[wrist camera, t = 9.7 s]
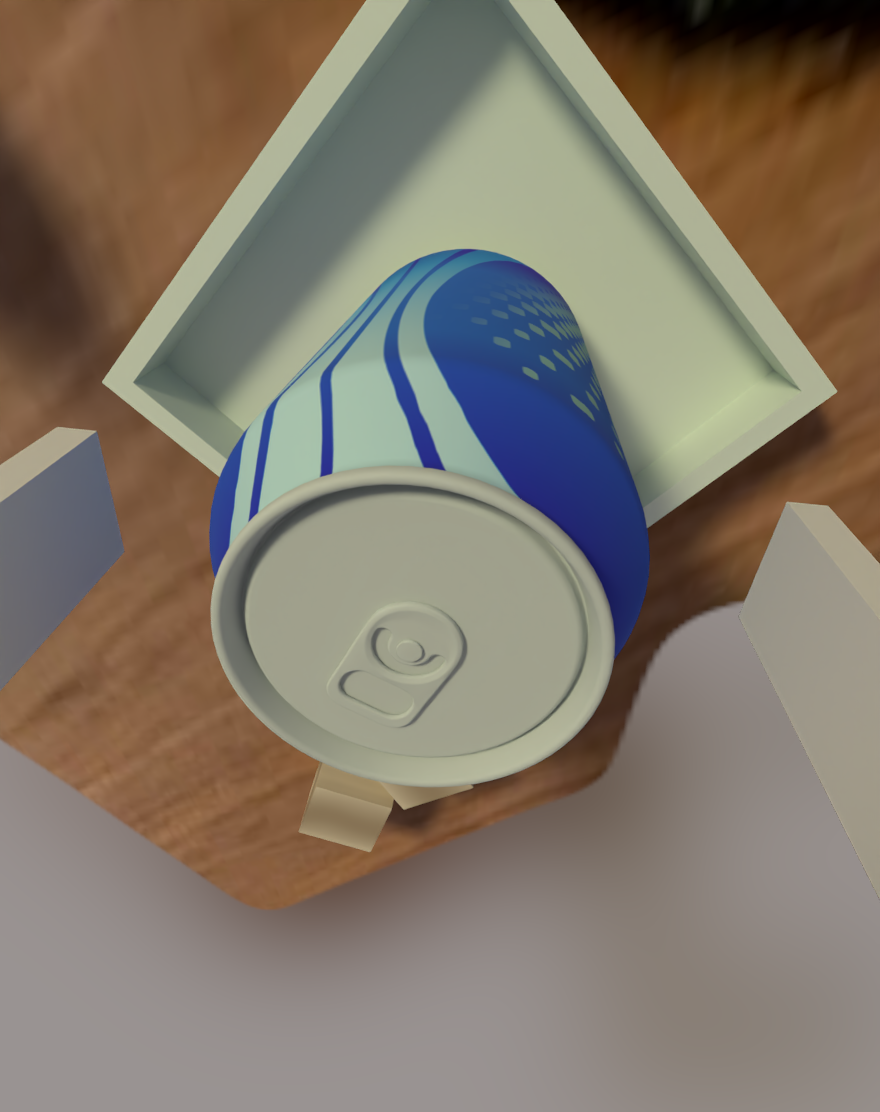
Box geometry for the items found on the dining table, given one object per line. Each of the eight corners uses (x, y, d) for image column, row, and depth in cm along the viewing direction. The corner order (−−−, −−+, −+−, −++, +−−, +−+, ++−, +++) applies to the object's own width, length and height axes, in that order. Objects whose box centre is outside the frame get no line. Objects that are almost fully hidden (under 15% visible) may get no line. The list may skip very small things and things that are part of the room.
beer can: (316, 296, 23) (41, 511, 10) (545, 201, 21) (604, 309, 7) (406, 496, 27) (301, 846, 14) (607, 435, 25) (718, 781, 11)
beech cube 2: (438, 676, 33) (432, 735, 30) (475, 725, 35) (473, 787, 31) (373, 700, 34) (360, 761, 31) (412, 747, 36) (403, 809, 33)
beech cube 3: (333, 726, 36) (316, 786, 32) (402, 747, 36) (392, 808, 33) (316, 771, 38) (298, 832, 34) (381, 790, 38) (370, 852, 35)
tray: (463, -90, 18) (458, -132, 15) (799, 365, 24) (837, 391, 21) (142, 358, 25) (101, 382, 23) (458, 622, 31) (455, 666, 28)
